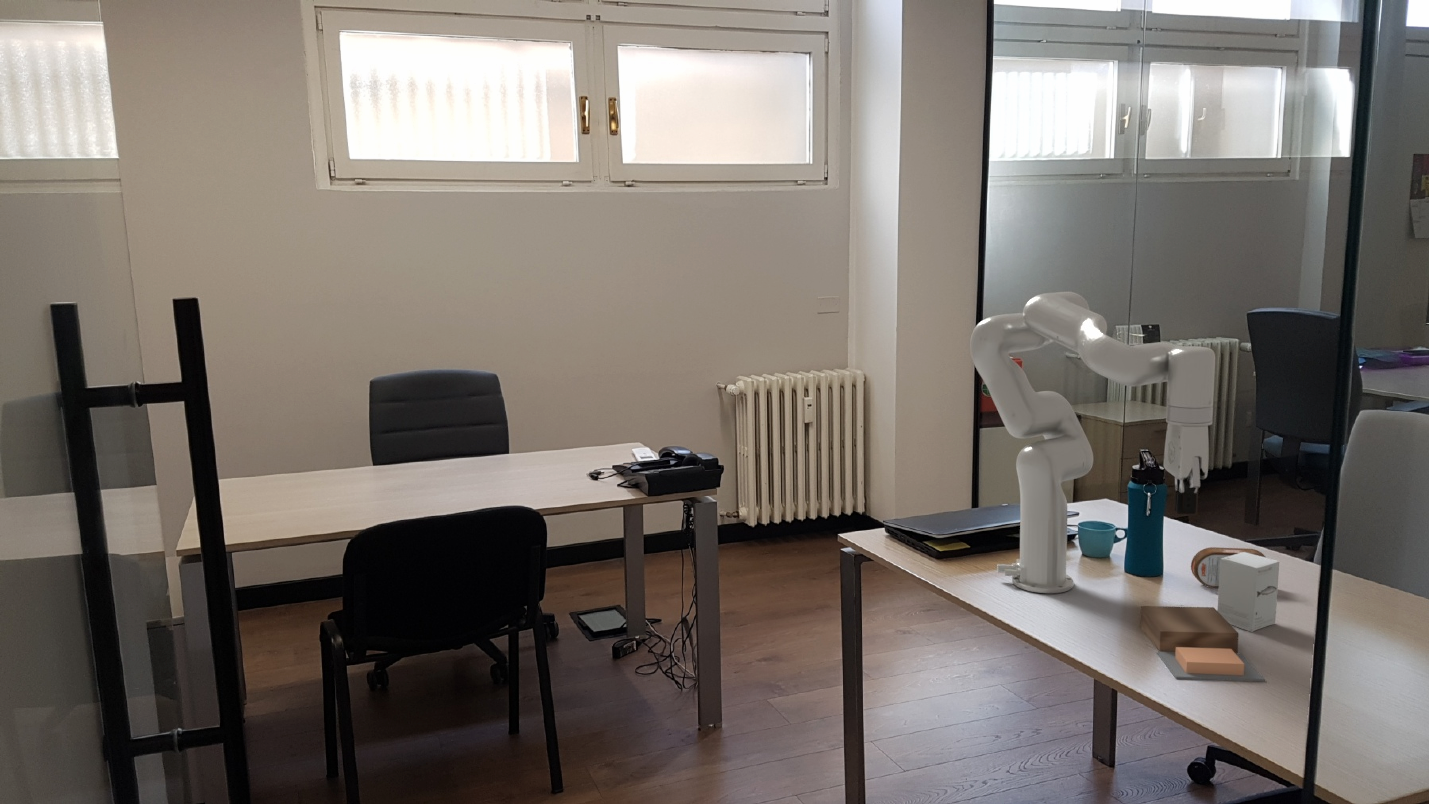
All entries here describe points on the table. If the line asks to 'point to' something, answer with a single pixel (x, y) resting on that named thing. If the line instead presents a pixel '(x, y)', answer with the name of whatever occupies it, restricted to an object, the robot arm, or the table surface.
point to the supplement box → (1248, 590)
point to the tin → (1213, 563)
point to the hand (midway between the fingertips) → (1184, 512)
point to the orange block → (1209, 661)
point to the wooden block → (1187, 628)
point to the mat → (1179, 673)
